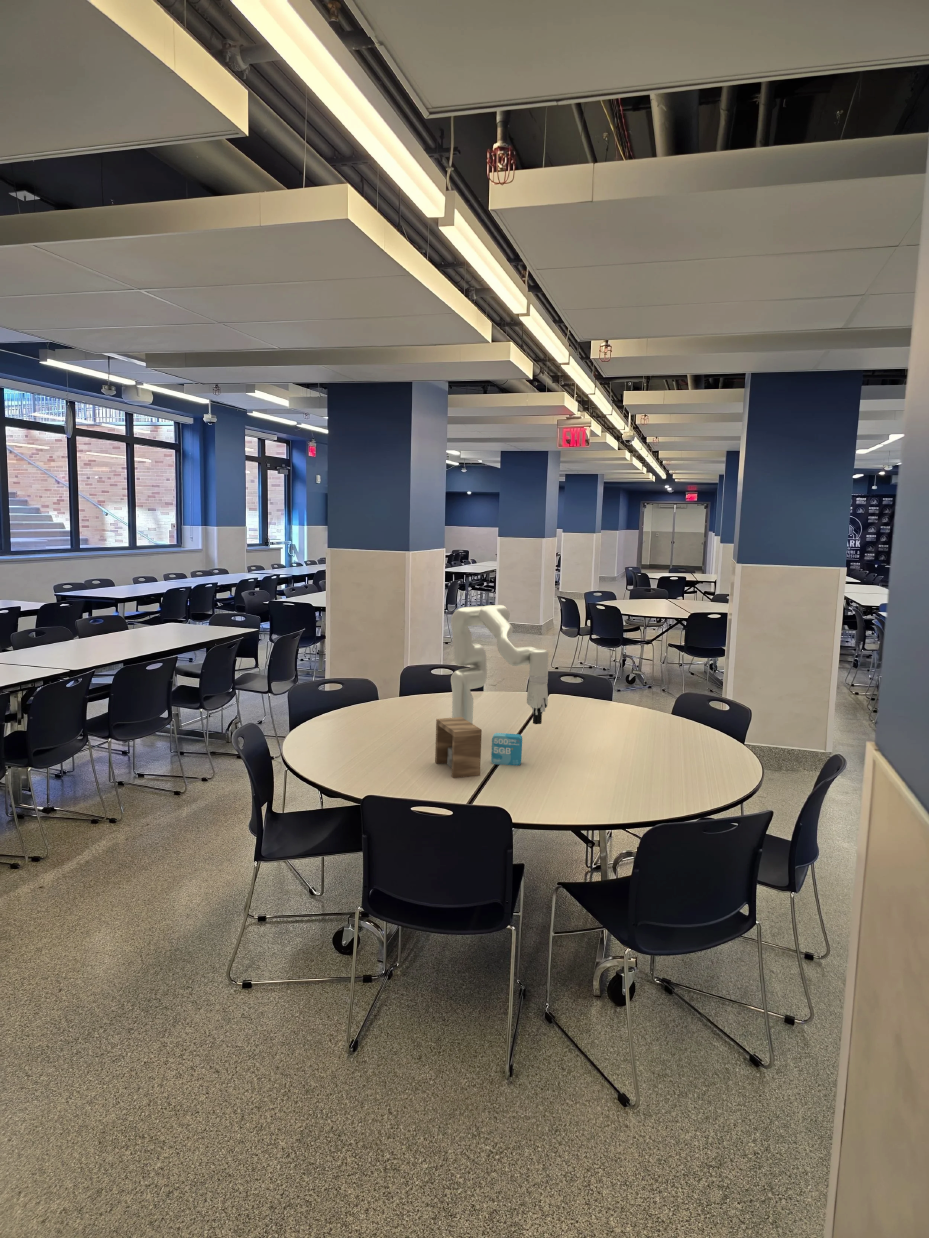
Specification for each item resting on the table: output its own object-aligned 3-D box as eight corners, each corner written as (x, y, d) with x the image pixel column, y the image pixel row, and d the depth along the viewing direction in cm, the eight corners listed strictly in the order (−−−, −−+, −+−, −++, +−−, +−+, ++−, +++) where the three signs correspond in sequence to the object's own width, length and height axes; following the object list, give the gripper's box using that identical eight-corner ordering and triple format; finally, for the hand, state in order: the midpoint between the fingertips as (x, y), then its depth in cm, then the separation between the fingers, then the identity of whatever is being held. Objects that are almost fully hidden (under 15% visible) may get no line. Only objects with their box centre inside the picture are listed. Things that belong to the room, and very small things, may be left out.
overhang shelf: (435, 762, 297) (436, 718, 295) (460, 760, 301) (461, 717, 299) (453, 778, 278) (454, 731, 276) (480, 775, 283) (481, 729, 281)
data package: (490, 764, 297) (492, 735, 296) (492, 760, 301) (493, 732, 300) (520, 766, 295) (521, 737, 294) (521, 763, 300) (522, 734, 299)
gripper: (521, 676, 304) (520, 720, 306) (539, 683, 291) (537, 728, 293) (537, 675, 307) (536, 718, 309) (555, 682, 294) (554, 727, 295)
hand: (537, 723), depth 301 cm, fingers closed
